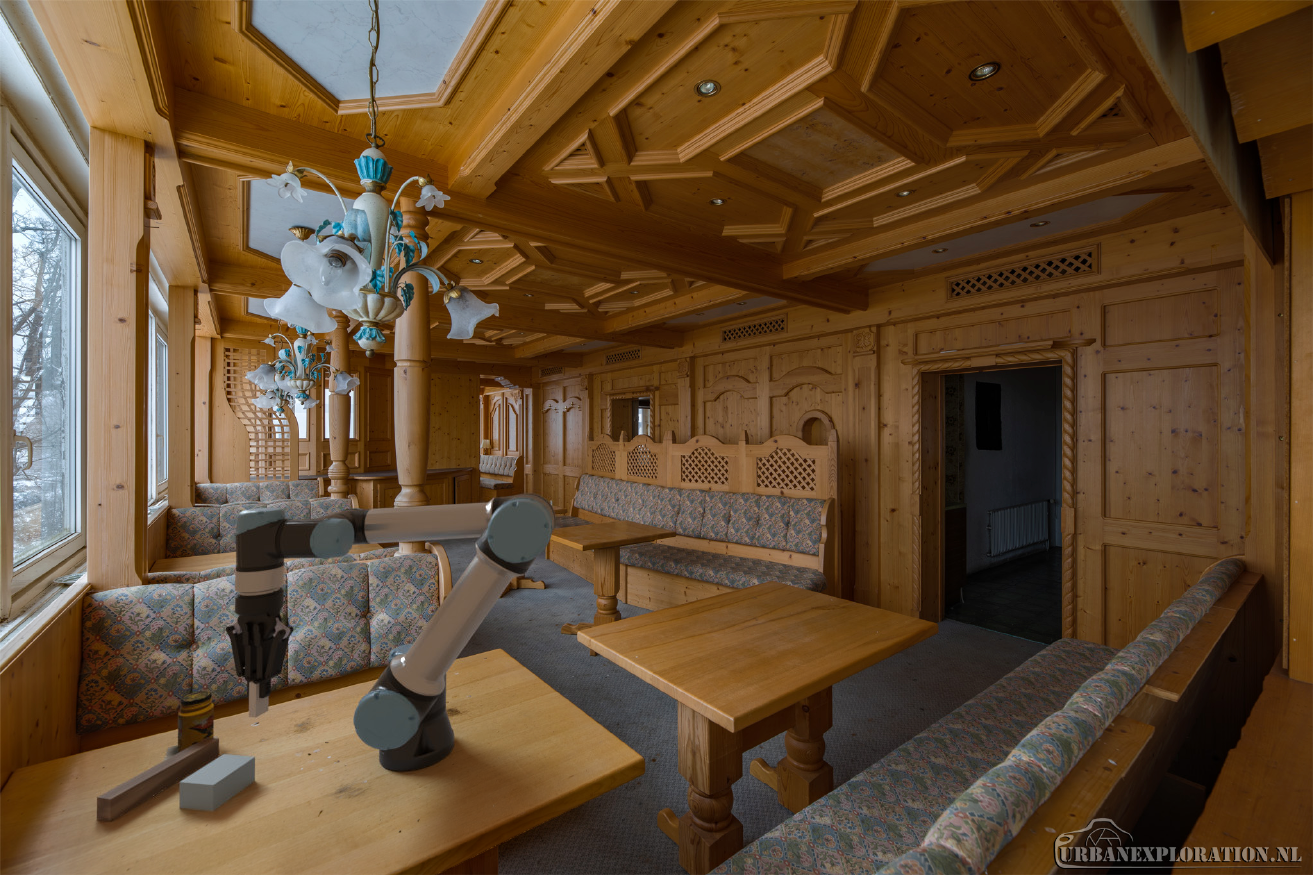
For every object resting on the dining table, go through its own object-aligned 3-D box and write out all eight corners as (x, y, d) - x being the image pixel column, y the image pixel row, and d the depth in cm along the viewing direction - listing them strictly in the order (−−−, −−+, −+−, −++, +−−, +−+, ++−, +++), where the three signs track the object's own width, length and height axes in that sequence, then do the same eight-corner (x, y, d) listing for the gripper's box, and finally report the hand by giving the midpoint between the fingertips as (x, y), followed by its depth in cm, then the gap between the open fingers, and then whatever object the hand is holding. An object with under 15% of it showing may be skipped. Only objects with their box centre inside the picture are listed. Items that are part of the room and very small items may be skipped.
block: (254, 781, 109) (255, 756, 109) (213, 812, 100) (213, 785, 100) (223, 778, 109) (223, 754, 109) (179, 808, 100) (179, 781, 100)
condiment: (213, 752, 118) (213, 697, 118) (161, 765, 113) (162, 708, 114) (217, 737, 124) (218, 685, 124) (168, 748, 120) (169, 694, 120)
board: (218, 757, 116) (219, 738, 116) (110, 821, 97) (110, 799, 97) (207, 755, 117) (207, 737, 117) (96, 819, 97) (96, 797, 97)
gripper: (305, 586, 106) (304, 707, 106) (248, 583, 108) (247, 701, 108) (272, 597, 98) (270, 727, 98) (211, 593, 101) (210, 720, 100)
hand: (258, 713), depth 103 cm, fingers closed
